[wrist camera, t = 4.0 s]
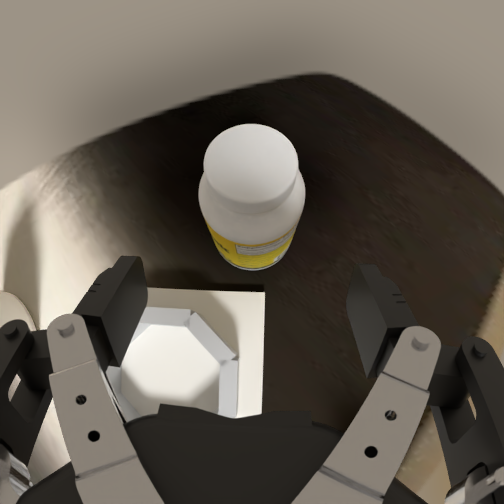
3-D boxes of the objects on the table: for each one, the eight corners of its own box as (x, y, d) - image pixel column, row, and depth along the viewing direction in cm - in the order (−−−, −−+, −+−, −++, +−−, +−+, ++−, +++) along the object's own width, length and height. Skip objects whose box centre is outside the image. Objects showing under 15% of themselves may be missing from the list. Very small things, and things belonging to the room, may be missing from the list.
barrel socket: (96, 441, 18) (77, 451, 15) (99, 285, 21) (79, 277, 18) (259, 463, 18) (260, 480, 15) (264, 293, 21) (266, 286, 18)
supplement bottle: (209, 205, 23) (184, 119, 13) (282, 194, 23) (300, 105, 13) (219, 278, 21) (192, 228, 12) (297, 265, 21) (331, 208, 12)
